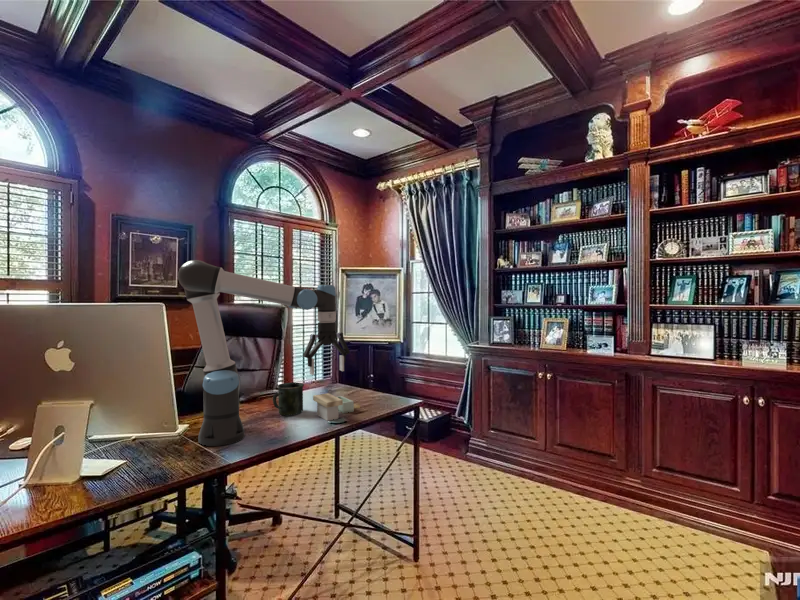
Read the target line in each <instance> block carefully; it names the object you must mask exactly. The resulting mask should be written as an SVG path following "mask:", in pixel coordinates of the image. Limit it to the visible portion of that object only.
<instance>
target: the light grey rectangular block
mask: <svg viewBox="0 0 800 600" xmlns="http://www.w3.org/2000/svg"><path fill="white" fill-rule="evenodd" d="M316 403H317V402H316ZM316 409H317V410H316V411H317V412H316V413H317V414H316V415H317V416H318V417H320V418H322V419H323V420H325V421H327V422H329V421H333V419H334V420H337V419H339V411H338V406H333V407H328V408H327V407H325V406H323V405H321V404H319V403H317V404H316ZM328 420H329V421H328Z"/></svg>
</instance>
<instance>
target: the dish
mask: <svg viewBox="0 0 800 600" xmlns="http://www.w3.org/2000/svg"><path fill="white" fill-rule="evenodd" d="M336 397H337V398H339V399H342V400H343V405H339V406H338V412H339V413H341V412H342V414H347V413H348V412H349V413H354V410H355V407H354V403H355V402H354V400H352V399H349V398H347V397H345V396H342V395H337V396H336Z"/></svg>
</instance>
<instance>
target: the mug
mask: <svg viewBox="0 0 800 600" xmlns="http://www.w3.org/2000/svg"><path fill="white" fill-rule="evenodd" d="M277 388H278V389H277V390H278V391H277V392H276V393H274V394H273V396H272V404H273V406H274V407H275V408H276V409H278V414H279V415H281V416H296V415H300V414H302V413H303V410H304V383H303V382H285V383H281V384H278V385H277ZM277 397H278V402H277Z"/></svg>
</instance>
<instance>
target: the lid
mask: <svg viewBox="0 0 800 600" xmlns="http://www.w3.org/2000/svg"><path fill="white" fill-rule="evenodd" d="M312 401H314V402H315V403H319V404H321V405H323V406H325V407H327V408H328V407H333V406H339V405H343V400H342V399H339V398H337V396H335V395H332V393H328V392H327V393H323V394H321V393H320V394H315V395H313V396H312Z"/></svg>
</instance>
